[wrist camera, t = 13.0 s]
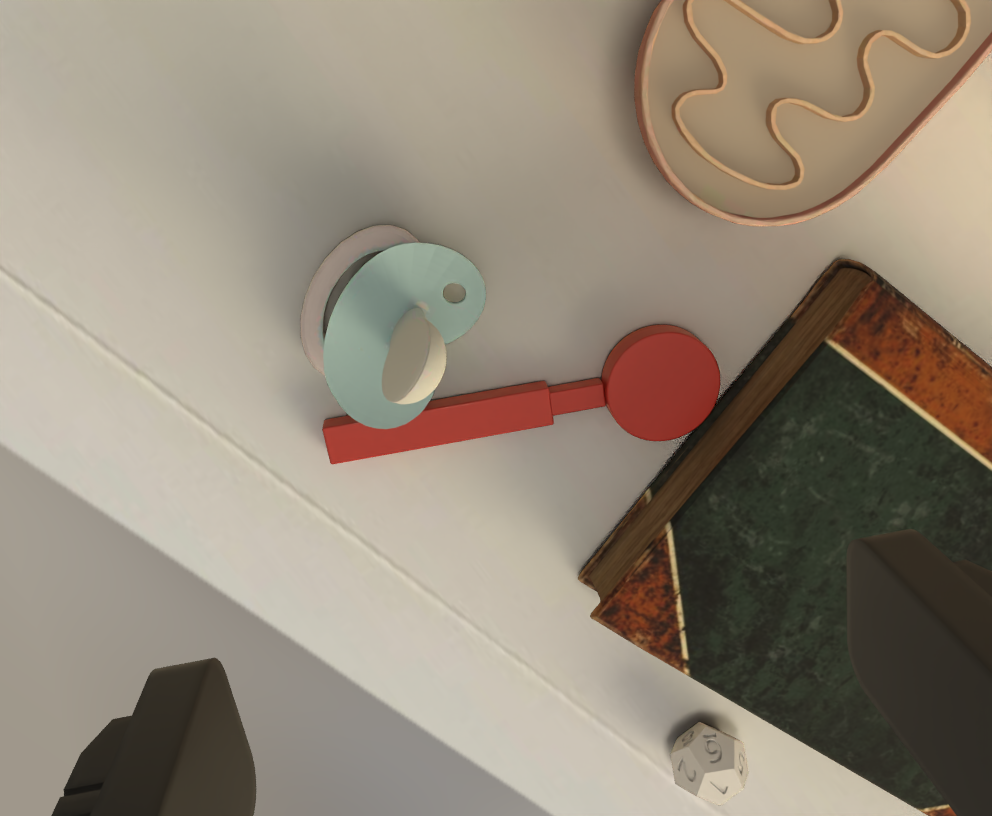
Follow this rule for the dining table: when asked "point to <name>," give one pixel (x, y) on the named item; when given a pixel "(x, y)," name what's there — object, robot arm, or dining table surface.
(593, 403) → the spoon
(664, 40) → the mitochondrion model
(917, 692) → the robot arm
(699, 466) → the book
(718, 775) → the game die
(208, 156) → the dining table surface
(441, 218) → the dining table surface
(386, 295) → the pacifier
